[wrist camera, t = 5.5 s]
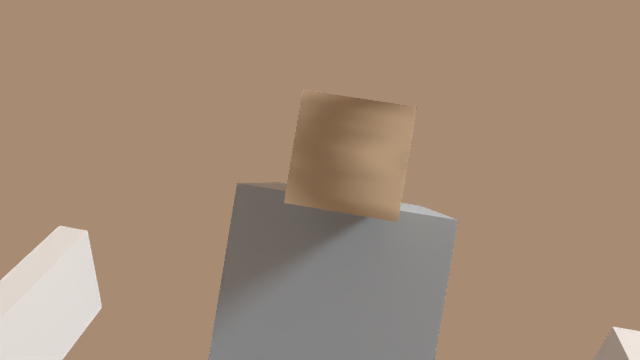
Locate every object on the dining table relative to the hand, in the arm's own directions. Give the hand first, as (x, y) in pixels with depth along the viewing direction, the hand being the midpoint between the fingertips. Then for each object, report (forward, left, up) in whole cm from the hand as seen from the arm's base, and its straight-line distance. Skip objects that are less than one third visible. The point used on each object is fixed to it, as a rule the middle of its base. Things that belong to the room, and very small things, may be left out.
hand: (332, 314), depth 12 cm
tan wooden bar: (0, +16, +2) cm, 16 cm away
